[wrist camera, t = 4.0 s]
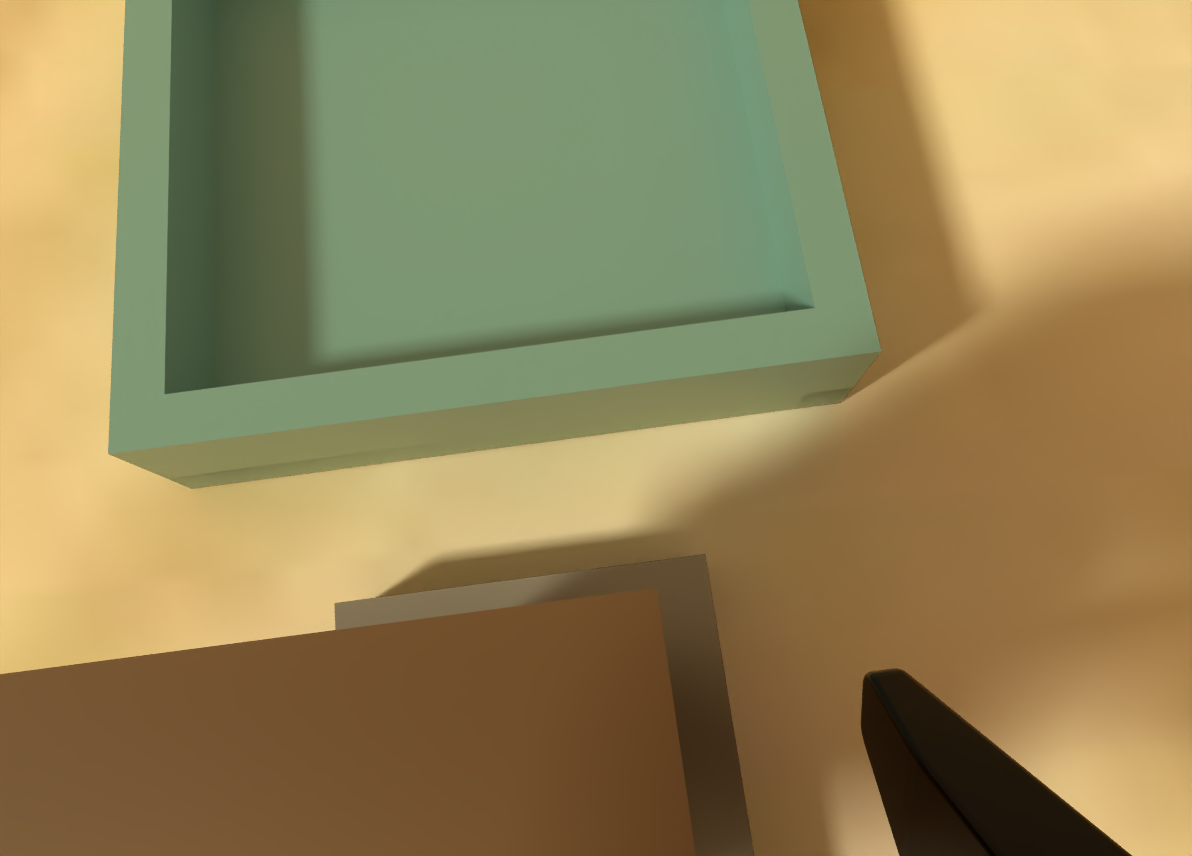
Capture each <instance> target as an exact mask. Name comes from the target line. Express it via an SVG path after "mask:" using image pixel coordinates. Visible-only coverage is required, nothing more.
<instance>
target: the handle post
mask: <svg viewBox="0 0 1192 856" xmlns="http://www.w3.org/2000/svg"><path fill="white" fill-rule="evenodd" d="M335 626H336V630H333V631H325V632H318V633H310V634H302V635H295V636H287V637H280V638H272V639H265V640H257V641H249V642H242V643H234V644H227V645H219V646H212V647H204V648H196V649H189V650H181V651H174V652H166V653H159V654H151V655H143V656H136V657H128V658H121V659H113V660H106V661H98V662H91V663H83V664H75V665H68V666H60V667H53V668H45V669H38V670H30V671H22V672H15V673H7V674H0V856H754V851H753V845H752V839H751V833H750V827H749V821H748V814H747V808H746V802H745V796H744V790H743V784H742V778H741V771H740V765H739V759H738V753H737V747H736V741H735V735H734V728H733V722H732V716H731V710H730V704H729V698H728V692H727V686H726V679H725V673H724V667H723V661H722V655H721V649H720V643H719V636H718V630H717V624H716V618H715V612H714V606H713V600H712V593H711V587H710V581H709V575H708V569H707V563H706V557H705V554H703V555H695V556H688V557H680V558H673V559H665V560H658V561H650V562H642V563H635V564H627V565H620V566H612V567H605V568H597V569H590V570H582V571H574V572H567V573H559V574H552V575H544V576H537V577H529V578H521V579H514V580H506V581H499V582H491V583H484V584H476V585H468V586H461V587H453V588H446V589H438V590H431V591H423V592H416V593H408V594H400V595H393V596H385V597H378V598H370V599H363V600H355V601H347V602H340V603H335Z"/></svg>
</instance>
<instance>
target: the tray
mask: <svg viewBox="0 0 1192 856" xmlns="http://www.w3.org/2000/svg"><path fill="white" fill-rule="evenodd" d="M880 353H881V347H880V343H879V339H878V335H877V330H876V326H875V322H874V318H873V314H872V309H871V305H870V301H869V297H868V293H867V288H866V284H865V280H864V276H863V272H862V268H861V263H860V259H859V255H858V251H857V247H856V242H855V238H854V234H853V230H852V226H851V221H850V217H849V213H848V209H847V205H846V200H845V196H844V192H843V188H842V184H841V179H840V175H839V171H838V167H837V163H836V159H835V154H834V150H833V146H832V142H831V138H830V133H829V129H828V125H827V121H826V117H825V112H824V108H823V104H822V100H821V96H820V91H819V87H818V83H817V79H816V75H815V70H814V66H813V62H812V58H811V54H810V50H809V45H808V41H807V37H806V33H805V29H804V24H803V20H802V16H801V12H800V8H799V3H798V0H126V1H125V27H124V54H123V80H122V106H121V132H120V159H119V185H118V211H117V237H116V264H115V290H114V316H113V343H112V369H111V395H110V421H109V448H108V454H109V455H112V456H114V457H117V458H119V459H121V460H124V461H126V462H129V463H131V464H133V465H136V466H138V467H141V468H143V469H146V470H148V471H150V472H153V473H155V474H158V475H160V476H162V477H165V478H167V479H170V480H172V481H174V482H177V483H179V484H182V485H184V486H187V487H189V488H191V489H193V488H201V487H209V486H216V485H224V484H231V483H239V482H246V481H254V480H261V479H269V478H276V477H284V476H291V475H299V474H307V473H314V472H322V471H329V470H337V469H344V468H352V467H359V466H367V465H374V464H382V463H389V462H397V461H404V460H412V459H420V458H427V457H435V456H442V455H450V454H457V453H465V452H472V451H480V450H487V449H495V448H502V447H510V446H518V445H525V444H533V443H540V442H548V441H555V440H563V439H570V438H578V437H585V436H593V435H600V434H608V433H615V432H623V431H631V430H638V429H646V428H653V427H661V426H668V425H676V424H683V423H691V422H698V421H706V420H713V419H721V418H729V417H736V416H744V415H751V414H759V413H766V412H774V411H781V410H789V409H796V408H804V407H811V406H819V405H826V404H834V403H841V402H842V401H843V399H844V398H845V397H846V396H847V394H848V393H849V392H850V391H851V389H852V388H853V387H854V386H855V384H856V383H857V382H858V380H859V379H860V378H861V377H862V375H863V374H864V373H865V372H866V370H867V369H868V368H869V367H870V365H871V364H872V363H873V361H874V360H875V359H876V358H877V356H878V355H879V354H880Z"/></svg>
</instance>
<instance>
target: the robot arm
mask: <svg viewBox="0 0 1192 856" xmlns="http://www.w3.org/2000/svg"><path fill="white" fill-rule="evenodd" d="M861 730H862V735H863V740H864V744H865V747H866V750H867V753H868V757H869V760H870V763H871V766H872V769H873V773H874V776H875V779H876V782H877V785H878V789H879V792H880V795H881V798H882V801H883V805H884V808H885V811H886V814H887V817H888V821H889V824H890V827H891V830H892V833H893V837H894V840H895V843H896V846H897V849H898V852H899V855H900V856H1132V855H1131V854H1129V853H1128V852H1127V851H1126V850H1124V849H1123V848H1122V847H1121V846H1120V845H1118V844H1117V843H1116V842H1115V841H1113V840H1112V839H1111V838H1110V837H1108V836H1107V835H1106V834H1105V833H1104V832H1102V831H1101V830H1100V829H1099V828H1097V827H1096V826H1095V825H1094V824H1092V823H1091V822H1090V821H1089V820H1088V819H1086V818H1085V817H1084V816H1083V815H1081V814H1080V813H1079V812H1078V811H1076V810H1075V809H1074V808H1073V807H1072V806H1070V805H1069V804H1068V803H1067V802H1065V801H1064V800H1063V799H1062V798H1060V797H1059V796H1058V795H1057V794H1056V793H1054V792H1053V791H1052V790H1051V789H1049V788H1048V787H1047V786H1046V785H1044V784H1043V783H1042V782H1041V781H1040V780H1038V779H1037V778H1036V777H1035V776H1033V775H1032V774H1031V773H1030V772H1028V771H1027V770H1026V769H1025V768H1024V767H1022V766H1021V765H1020V764H1019V763H1017V762H1016V761H1015V760H1014V759H1012V758H1011V757H1010V756H1009V755H1008V754H1006V753H1005V752H1004V751H1003V750H1001V749H1000V748H999V747H998V746H996V745H995V744H994V743H993V742H992V741H990V740H989V739H988V738H987V737H985V736H984V735H983V734H982V733H980V732H979V731H978V730H977V729H976V728H974V727H973V726H972V725H971V724H969V723H968V722H967V721H966V720H964V719H963V718H962V717H961V716H960V715H958V714H957V713H956V712H955V711H953V710H952V709H951V708H950V707H948V706H947V705H946V704H945V703H944V702H942V701H941V700H940V699H939V698H937V697H936V696H935V695H934V694H932V693H931V692H930V691H929V690H928V689H926V688H925V687H924V686H923V685H921V684H920V683H919V682H918V681H916V680H915V679H914V678H913V677H912V676H910V675H909V674H908V673H907V672H905V671H903V670H901V669H887V670H879V671H872V672H869V673H867V674H866V675H865V677H864V679H863V690H862V709H861Z"/></svg>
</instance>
